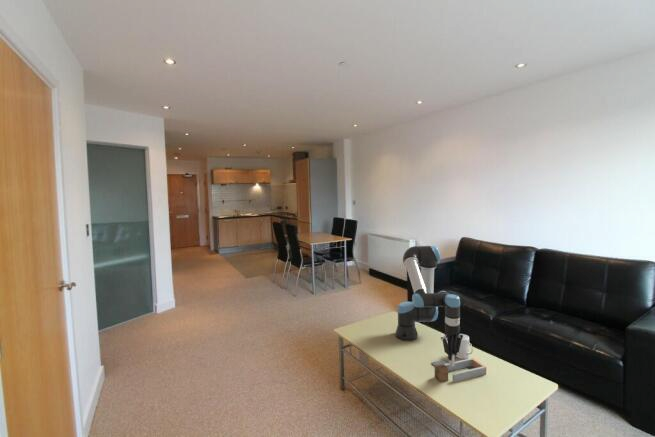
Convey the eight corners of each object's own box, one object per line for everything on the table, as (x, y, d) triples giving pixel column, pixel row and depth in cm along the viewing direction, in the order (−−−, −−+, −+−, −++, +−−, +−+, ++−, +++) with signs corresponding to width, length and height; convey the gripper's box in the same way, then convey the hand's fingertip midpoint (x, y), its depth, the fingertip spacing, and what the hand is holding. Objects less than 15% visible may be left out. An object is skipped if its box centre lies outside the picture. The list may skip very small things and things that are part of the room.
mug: (477, 359, 188) (477, 340, 187) (465, 363, 185) (466, 343, 184) (462, 351, 199) (462, 332, 198) (451, 353, 196) (451, 335, 195)
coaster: (431, 363, 186) (431, 362, 186) (442, 360, 188) (442, 359, 188) (439, 370, 178) (439, 369, 178) (451, 367, 181) (451, 366, 180)
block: (434, 377, 172) (434, 364, 172) (442, 375, 173) (442, 363, 173) (439, 382, 167) (439, 369, 167) (448, 380, 168) (448, 368, 168)
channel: (441, 371, 177) (441, 364, 177) (472, 364, 183) (472, 357, 183) (454, 382, 167) (454, 374, 167) (486, 374, 173) (486, 367, 173)
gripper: (446, 328, 165) (446, 371, 167) (467, 324, 169) (466, 366, 171) (437, 322, 172) (437, 363, 175) (457, 319, 176) (456, 359, 179)
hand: (451, 365), depth 173 cm, fingers closed
